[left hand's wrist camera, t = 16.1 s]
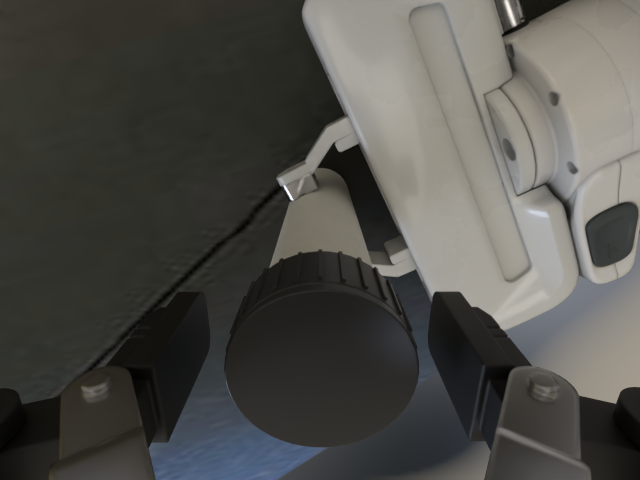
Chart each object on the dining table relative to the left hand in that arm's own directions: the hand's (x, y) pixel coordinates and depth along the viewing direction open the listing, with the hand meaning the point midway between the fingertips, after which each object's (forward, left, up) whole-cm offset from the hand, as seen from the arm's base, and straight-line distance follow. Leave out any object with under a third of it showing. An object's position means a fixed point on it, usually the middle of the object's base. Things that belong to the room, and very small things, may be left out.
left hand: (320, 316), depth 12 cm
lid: (0, 0, +3) cm, 3 cm away
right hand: (0, -1, -9) cm, 9 cm away
